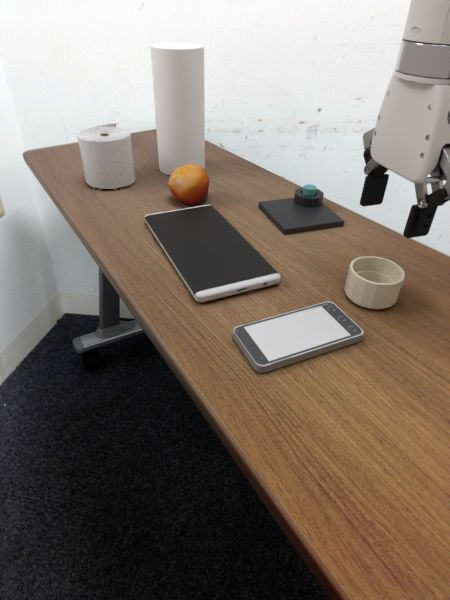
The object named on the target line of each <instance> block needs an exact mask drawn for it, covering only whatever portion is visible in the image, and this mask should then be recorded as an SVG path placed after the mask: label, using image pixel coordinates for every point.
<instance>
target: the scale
mask: <svg viewBox="0 0 450 600" xmlns="http://www.w3.org/2000/svg"><path fill="white" fill-rule="evenodd" d="M302 192H303V187H298V188H296V189H295V190H294V196H293V197H287V198H280V199H279V198H278V199H271V200H264V201H263V200H261V201H258V205H257V206H258V207H257V208H258V209H259V210H260V211H261V212H262V213H263V214H264V215H265V217H267V218H268V220H270V222H271V223H272V224H273V225H274V226H275V227H276V228H277V229H278V230H279V231H280V233H282V234H283V235H284V236H287V235H289V236H290V235H295V234H303V233H310V232H315V231H321V230H326V229H327V230H328V229H334V228H341V227H342V228H343V227H344V225H345V219H343V218H342V217H340V216H339V214H337V213H336V212H335V211H334V210H332V209H331V208H330V207H328V206H327V205H326V204H325V203H323V201H324V197H325V196H324V194H325V193H324V192H323V191H322V189H321V190H320V189H318V188H317V191H316V196H306V195H303V194H302Z"/></svg>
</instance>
